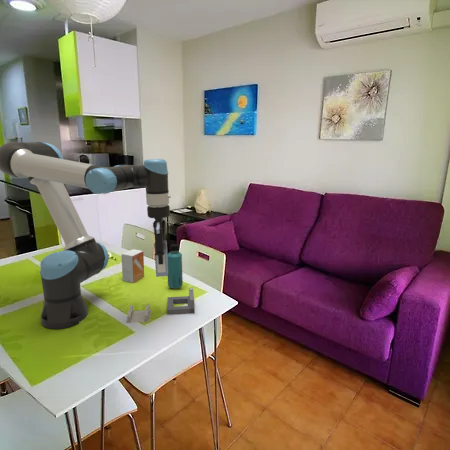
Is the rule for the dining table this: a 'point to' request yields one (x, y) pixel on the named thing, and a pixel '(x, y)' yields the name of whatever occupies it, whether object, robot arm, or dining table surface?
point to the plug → (165, 261)
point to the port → (181, 300)
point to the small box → (132, 265)
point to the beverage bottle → (174, 267)
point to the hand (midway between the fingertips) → (162, 269)
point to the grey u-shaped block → (138, 315)
